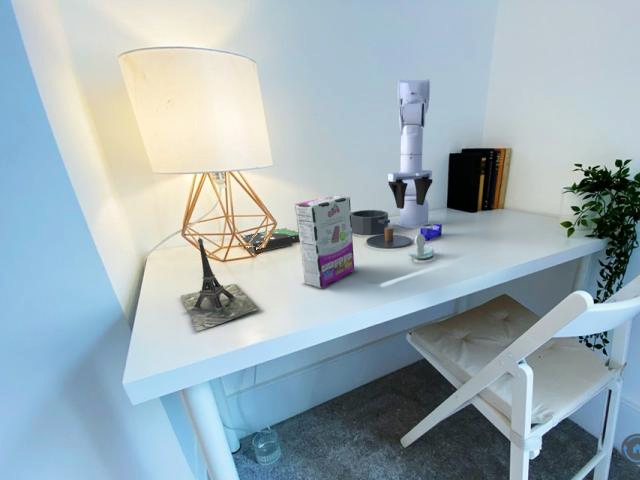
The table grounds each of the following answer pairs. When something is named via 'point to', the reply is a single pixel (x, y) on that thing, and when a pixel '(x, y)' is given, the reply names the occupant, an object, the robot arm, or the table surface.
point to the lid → (388, 240)
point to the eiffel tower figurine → (215, 299)
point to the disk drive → (272, 239)
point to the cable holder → (432, 231)
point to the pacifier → (422, 250)
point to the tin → (369, 222)
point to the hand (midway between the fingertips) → (410, 206)
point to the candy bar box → (325, 239)
